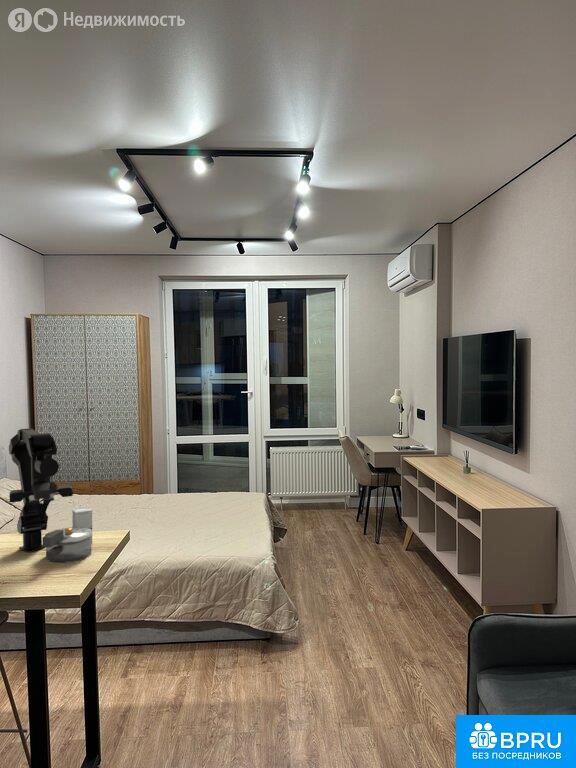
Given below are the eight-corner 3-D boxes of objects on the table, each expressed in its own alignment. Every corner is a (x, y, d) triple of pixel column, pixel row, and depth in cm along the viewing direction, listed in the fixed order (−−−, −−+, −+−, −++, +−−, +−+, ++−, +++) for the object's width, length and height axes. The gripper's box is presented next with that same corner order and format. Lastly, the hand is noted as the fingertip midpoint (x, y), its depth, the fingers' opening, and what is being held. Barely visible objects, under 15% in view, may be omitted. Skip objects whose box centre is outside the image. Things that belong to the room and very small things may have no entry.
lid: (58, 529, 198) (58, 518, 198) (99, 530, 196) (99, 519, 196) (24, 549, 177) (23, 537, 176) (69, 551, 175) (69, 538, 175)
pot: (59, 548, 198) (59, 530, 197) (98, 548, 196) (98, 531, 196) (28, 568, 178) (28, 549, 178) (71, 569, 177) (71, 550, 177)
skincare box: (75, 547, 199) (74, 512, 198) (72, 543, 202) (71, 509, 202) (93, 543, 202) (92, 509, 201) (90, 540, 206) (89, 507, 205)
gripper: (8, 479, 174) (10, 529, 175) (73, 473, 182) (74, 522, 183) (9, 473, 184) (10, 520, 185) (70, 468, 192) (71, 513, 193)
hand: (42, 519), depth 186 cm, fingers closed
